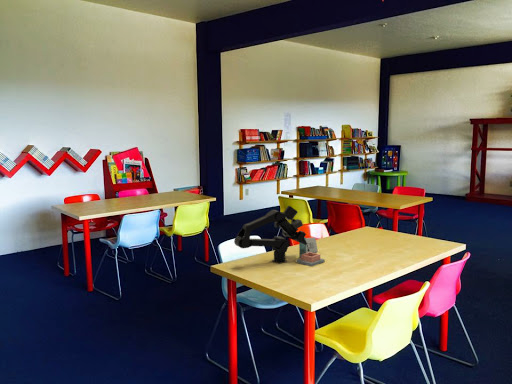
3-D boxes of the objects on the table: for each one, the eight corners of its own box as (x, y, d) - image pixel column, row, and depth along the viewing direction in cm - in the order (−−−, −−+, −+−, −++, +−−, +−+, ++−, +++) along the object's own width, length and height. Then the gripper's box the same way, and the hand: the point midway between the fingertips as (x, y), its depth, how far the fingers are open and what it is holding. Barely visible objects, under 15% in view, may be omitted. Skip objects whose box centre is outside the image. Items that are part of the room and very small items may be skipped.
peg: (303, 259, 260) (303, 239, 258) (297, 257, 263) (298, 238, 261) (307, 257, 263) (307, 238, 261) (302, 256, 265) (302, 237, 264)
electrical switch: (305, 254, 270) (304, 239, 270) (300, 253, 275) (299, 238, 274) (317, 252, 274) (317, 237, 274) (313, 251, 279) (312, 236, 278)
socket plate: (311, 266, 245) (311, 258, 245) (296, 262, 253) (296, 254, 253) (324, 261, 254) (324, 254, 253) (309, 258, 261) (309, 250, 261)
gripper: (303, 218, 248) (319, 235, 255) (286, 213, 265) (302, 229, 271) (291, 233, 246) (307, 250, 252) (275, 227, 263) (290, 243, 269)
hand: (302, 242), depth 261 cm, fingers open, 9 cm apart
